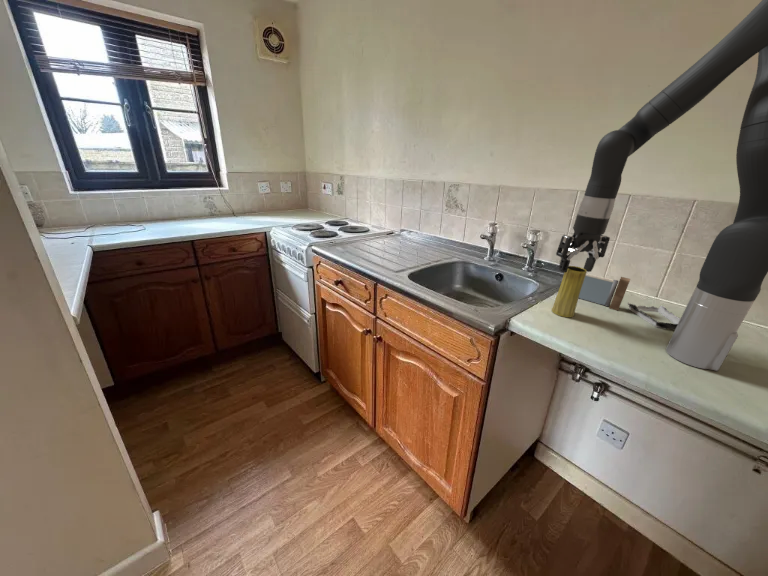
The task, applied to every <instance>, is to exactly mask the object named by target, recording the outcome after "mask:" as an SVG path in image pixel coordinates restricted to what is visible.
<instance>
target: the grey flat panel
mask: <svg viewBox="0 0 768 576" xmlns="http://www.w3.org/2000/svg"><path fill="white" fill-rule="evenodd" d="M618 283H619V280H618V279H610V278H606V277H602V276H598V275H594V274H590V273H586V276H585V279H584V282H583V285H582V287H581V291H580V294H579V298H578V299H581V300H584V301H587V302H592V303H596V304H599V305H603V306H605V307H610V305H611V302H612V299H613V297H614V294H615V291H616V289H617V286H618Z"/></svg>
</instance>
